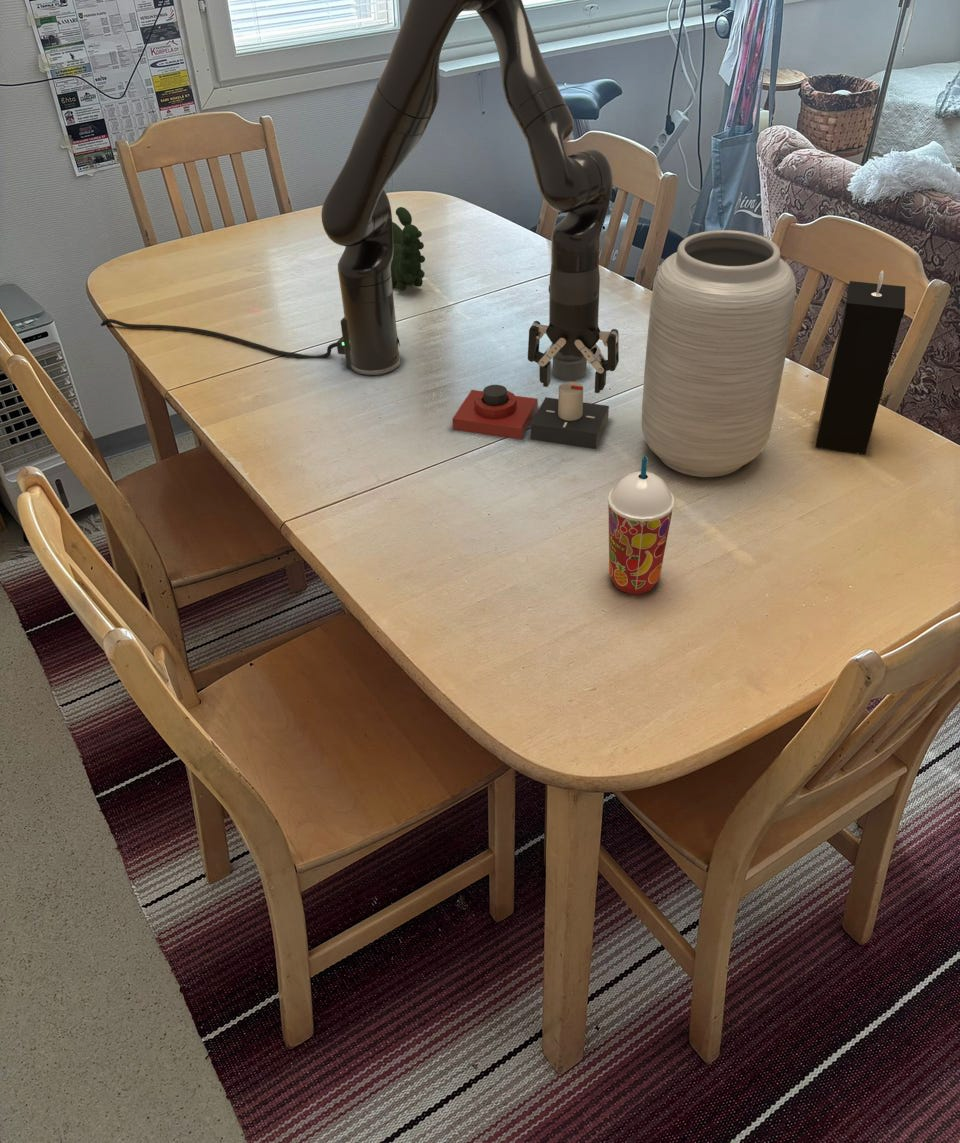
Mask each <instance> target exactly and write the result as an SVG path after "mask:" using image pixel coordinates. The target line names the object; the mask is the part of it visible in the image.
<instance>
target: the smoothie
mask: <svg viewBox="0 0 960 1143" xmlns="http://www.w3.org/2000/svg"><path fill="white" fill-rule="evenodd" d="M640 466H641V468H640V470H638V471H634V472H633V471H632V472H630V473H628V474H626V475H625V476H623V477H621V478H620V479H619V481H618V482H617V483H616V484H615V486H614V487H613V488H612V489H611V490H610V491H609V493H608V496H607V502H608V504H607V505H608V507H607V508H608V510H607V511H608V562H609V563H608V574H609V577H610V579H611V580H612V582H613V585H614V586H615V587H616V588H617V589H618V590H620V591H621V592H624V593H627V594H631V595H638V594H639V595H641V594H644V593H647V592H649V591H651V590H652V589H653V588H654V586H655V585H656V584H657V583H658V582H659V580H660V577H661V572H662V568H663V562H664V556H665V551H666V546H667V541H668V537H669V532H670V531H669V530H670V526H671V520H672V515H673V509H674V507H675V501H676V500H675V498H674V495H673V493H672V492H671V491H670V488H669V487H668V484H667V483H666V481H664V480H663V479H662V477H660V476H659V475H657V474H656V473H653V472H651V471H647V468H648V456H642V457H641V465H640Z"/></svg>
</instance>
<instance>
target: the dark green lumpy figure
mask: <svg viewBox="0 0 960 1143" xmlns="http://www.w3.org/2000/svg"><path fill="white" fill-rule="evenodd" d="M395 215H396V216H397V218H398V221H399V223H400V224H401V225H402V226H403V228H401V226H399V225H398V224H397V222H394V221H392V227H393V248H394V253H393V259H392V263H391V278H392V288H393V289H394V288H397V290H398V291H401V292H402V291H405V290H406V289H407V286H410V285H413V286H415V287H417V288H419V287H422V286H423V282H424V281H423V278H424V277H425V275H426V274H425V272H424V270H423V269H422V264H423V263H425V261H426V257H425V256H424V255H423V254H422V253H421V251H420V250H423V249H424V247H425V244H424V242H422V241H421V240H420V238H421V237H422V236H423V233H422V231H421V230H420V229H419V228H418V227H417V226H416V225H414V224H412V222H413V218H412V214H411V213H410V211H409V210H408V209H407V208H406V207H403V206H400V207H397V208H396V209H395Z"/></svg>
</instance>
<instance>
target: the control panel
mask: <svg viewBox="0 0 960 1143" xmlns="http://www.w3.org/2000/svg"><path fill="white" fill-rule="evenodd" d="M558 399H559V398H555V397H547V396H545V398H544V399H543V400H542V403H541V405H540V406H539V407H538V410H537V412H536V414H535V415H534V417H533V419H532V421H531V423H530V440H532V441H539V442H545V443H552V444H559V445H565V446H566V445H567V446H571V447H572V446H573V447H579V448H585V449H586V448H587V449H591V450H592V449H594V450H596V449H597V447H598V446H599V443H600V440H601V438H602V436H603V434H604V432H605V429H606V427H607V425H608V423H609V415H610V414H609V412H610V405H606V404H598V403H591V402H584V401H583V414H582V417H581V418H580V419H578V420H574V421H567V420H563V419H561V418H560V417H559V416H558Z"/></svg>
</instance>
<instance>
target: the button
mask: <svg viewBox="0 0 960 1143" xmlns="http://www.w3.org/2000/svg"><path fill="white" fill-rule="evenodd" d="M482 391H483V400H484V403H485V404H486V405H488V406H501V405H504V404H506V403H507V391H508V389H507V387H505V385H502V384H489V385H486V386H485V387H484V388H483V390H482Z"/></svg>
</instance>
